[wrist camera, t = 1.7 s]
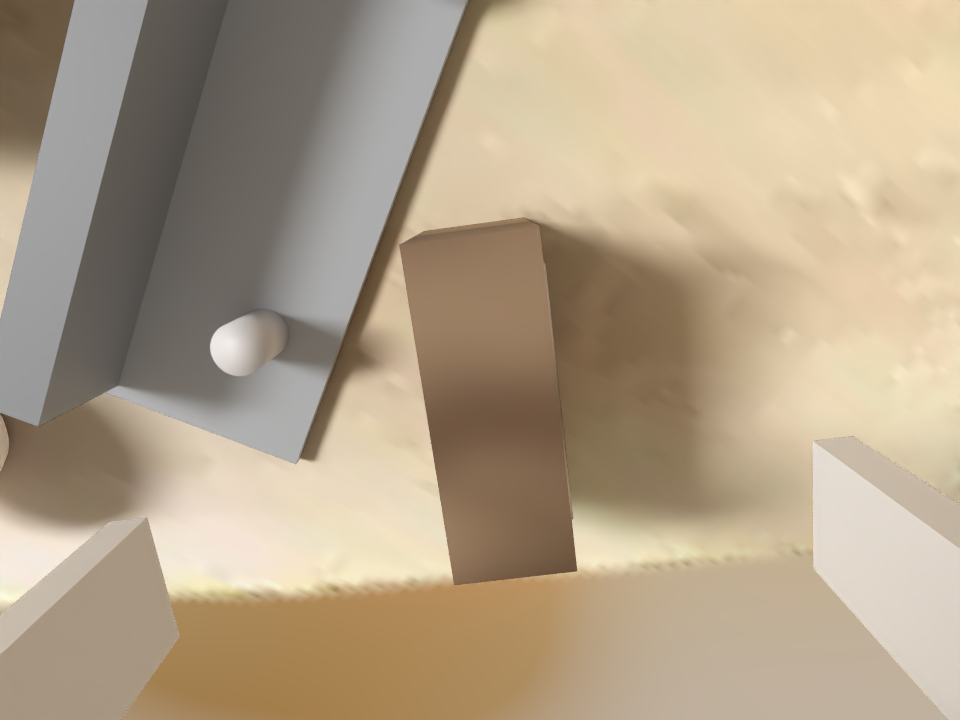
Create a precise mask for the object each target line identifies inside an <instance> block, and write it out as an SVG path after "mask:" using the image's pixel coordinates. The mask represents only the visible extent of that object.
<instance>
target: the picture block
mask: <svg viewBox="0 0 960 720" xmlns="http://www.w3.org/2000/svg"><path fill="white" fill-rule="evenodd" d="M400 252H401V258H402V264H403V270H404V276H405V283H406V289H407V295H408V301H409V307H410V314H411V320H412V326H413V332H414V338H415V345H416V351H417V357H418V363H419V369H420V376H421V382H422V388H423V394H424V400H425V407H426V413H427V419H428V425H429V431H430V438H431V444H432V450H433V456H434V462H435V469H436V475H437V481H438V487H439V493H440V500H441V506H442V512H443V518H444V524H445V531H446V537H447V543H448V549H449V555H450V562H451V568H452V574H453V580H454V585H460V584H469V583H478V582H487V581H496V580H504V579H513V578H522V577H531V576H539V575H548V574H557V573H566V572H575V571H577V565H576V556H575V547H574V538H573V528H572V519H573V512H572V503H571V494H570V485H569V475H568V466H567V457H566V448H565V438H564V429H563V420H562V411H561V401H560V392H559V383H558V374H557V364H556V355H555V346H554V337H553V327H552V318H551V309H550V299H549V290H548V281H547V272H546V263H545V262H544V261H543V253H542V243H541V234H540V226H539V225H537V224H535V223H533V222H531V221H529V220H527V219H525V218H517V219H510V220H502V221H495V222H488V223H480V224H473V225H466V226H458V227H451V228H443V229H436V230H429V231H424V232H422V233H420V234H418V235H417V236H415V237H413V238H411V239H409V240H407V241H406V242H404V243H402V244H400Z"/></svg>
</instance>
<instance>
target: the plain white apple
mask: <svg viewBox="0 0 960 720" xmlns="http://www.w3.org/2000/svg"><path fill="white" fill-rule="evenodd" d="M8 451H9V437H8V433H7V429H6V426H5V423H4V420H3V418H2V416H1V414H0V471H1V469H2V467H3V465H4V462H5V460H6V457H7V454H8Z"/></svg>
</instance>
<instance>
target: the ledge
mask: <svg viewBox="0 0 960 720" xmlns="http://www.w3.org/2000/svg"><path fill="white" fill-rule="evenodd" d="M468 1H469V0H75V1H74V5H73V9H72V14H71V18H70V22H69V27H68V31H67V35H66V39H65V44H64V48H63V52H62V57H61V61H60V65H59V69H58V74H57V78H56V82H55V87H54V91H53V95H52V100H51V104H50V108H49V112H48V117H47V121H46V125H45V130H44V134H43V138H42V142H41V147H40V151H39V155H38V160H37V164H36V168H35V173H34V177H33V181H32V185H31V190H30V194H29V198H28V203H27V207H26V211H25V215H24V220H23V224H22V228H21V233H20V237H19V241H18V245H17V250H16V254H15V258H14V263H13V267H12V271H11V276H10V280H9V284H8V288H7V293H6V297H5V301H4V306H3V310H2V314H1V318H0V413H2V414H5V415H8V416H10V417H13V418H16V419H18V420H21V421H24V422H27V423H29V424H32V425H35V426H37V427H38V426H40V425H42V424H44V423H46V422H48V421H50V420H52V419H54V418H56V417H58V416H60V415H62V414H64V413H66V412H68V411H70V410H72V409H74V408H75V407H77V406H79V405H81V404H83V403H85V402H87V401H89V400H91V399H93V398H95V397H97V396H99V395H101V394H103V393H108V394H111V395H113V396H116V397H119V398H121V399H124V400H127V401H129V402H132V403H135V404H137V405H140V406H142V407H145V408H148V409H150V410H153V411H156V412H158V413H161V414H164V415H166V416H169V417H172V418H174V419H177V420H180V421H182V422H185V423H188V424H190V425H193V426H196V427H198V428H201V429H204V430H206V431H209V432H211V433H214V434H217V435H219V436H222V437H225V438H227V439H230V440H233V441H235V442H238V443H241V444H243V445H246V446H249V447H251V448H254V449H257V450H259V451H262V452H265V453H267V454H270V455H273V456H275V457H278V458H280V459H283V460H286V461H288V462H291V463H294V464H296V463H297V462H298V461H299V459H300V457H301V454H302V451H303V449H304V446H305V443H306V441H307V438H308V435H309V432H310V430H311V427H312V424H313V422H314V419H315V416H316V413H317V411H318V408H319V405H320V403H321V400H322V397H323V394H324V392H325V389H326V386H327V384H328V381H329V378H330V375H331V373H332V370H333V367H334V365H335V362H336V359H337V357H338V354H339V351H340V348H341V346H342V343H343V340H344V338H345V335H346V332H347V329H348V327H349V324H350V321H351V319H352V316H353V313H354V310H355V308H356V305H357V302H358V300H359V297H360V294H361V291H362V289H363V286H364V283H365V281H366V278H367V275H368V272H369V270H370V267H371V264H372V262H373V259H374V256H375V253H376V251H377V248H378V245H379V243H380V240H381V237H382V235H383V232H384V229H385V226H386V224H387V221H388V218H389V216H390V213H391V210H392V207H393V205H394V202H395V199H396V197H397V194H398V191H399V188H400V186H401V183H402V180H403V178H404V175H405V172H406V169H407V167H408V164H409V161H410V159H411V156H412V153H413V150H414V148H415V145H416V142H417V140H418V137H419V134H420V131H421V129H422V126H423V123H424V121H425V118H426V115H427V113H428V110H429V107H430V104H431V102H432V99H433V96H434V94H435V91H436V88H437V85H438V83H439V80H440V77H441V75H442V72H443V69H444V66H445V64H446V61H447V58H448V56H449V53H450V50H451V47H452V45H453V42H454V39H455V37H456V34H457V31H458V28H459V26H460V23H461V20H462V18H463V15H464V12H465V9H466V7H467V4H468Z"/></svg>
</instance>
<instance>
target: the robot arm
mask: <svg viewBox="0 0 960 720" xmlns="http://www.w3.org/2000/svg"><path fill="white" fill-rule="evenodd" d="M813 569H814V570H815V571H816V572H817V573H818V574H819V575H820V576H821V578H822V579H823V580H824V581H825V582H826V583H827V584H828V585H829V587H830V588H831V589H832V590H833V591H834V592H835V593H836V594H837V595H838V597H839V598H840V599H841V600H842V601H843V602H844V603H845V605H846V606H847V607H848V608H849V609H850V610H851V611H852V612H853V614H854V615H855V616H856V617H857V618H858V619H859V620H860V621H861V623H862V624H863V625H864V626H865V627H866V628H867V629H868V630H869V631H870V633H871V634H872V635H873V636H874V637H875V638H876V639H877V640H878V642H879V643H880V644H881V645H882V646H883V647H884V648H885V649H886V650H887V652H888V653H889V654H890V655H891V656H892V657H893V658H894V660H895V661H896V662H897V663H898V664H899V665H900V666H901V667H902V669H903V670H904V671H905V672H906V673H907V674H908V675H909V676H910V677H911V679H912V680H913V681H914V682H915V683H916V684H917V685H918V686H919V687H920V689H921V690H922V691H923V692H924V693H925V694H926V695H927V697H928V698H929V699H930V700H931V701H932V702H933V703H934V704H935V706H936V707H937V708H938V709H939V710H940V711H941V712H942V713H943V715H944V716H945V717H946V718H947V719H948V720H960V504H958V503H957V502H955V501H954V500H952V499H950V498H949V497H947V496H946V495H944V494H943V493H941V492H939V491H938V490H936V489H935V488H933V487H932V486H930V485H929V484H927V483H925V482H924V481H922V480H921V479H919V478H918V477H916V476H914V475H913V474H911V473H910V472H908V471H907V470H905V469H904V468H902V467H900V466H899V465H897V464H896V463H894V462H893V461H891V460H890V459H888V458H886V457H885V456H883V455H882V454H880V453H879V452H877V451H875V450H874V449H872V448H871V447H869V446H868V445H866V444H865V443H863V442H861V441H860V440H858V439H857V438H855V437H854V436H851V437H842V438H834V439H825V440H816V441H813ZM178 638H179V632H178V628H177V625H176V621H175V618H174V614H173V610H172V606H171V603H170V599H169V595H168V592H167V588H166V584H165V581H164V577H163V574H162V570H161V566H160V563H159V559H158V555H157V552H156V548H155V544H154V541H153V537H152V533H151V530H150V526H149V522H148V519H147V517H145V518H136V519H127V520H119V521H110V522H109V523H108V524H106V525H105V526H104V527H103V528H102V529H100V530H99V531H98V532H97V533H96V534H95V535H93V536H92V537H91V538H90V539H89V540H88V541H86V542H85V543H84V544H83V545H82V546H81V547H79V548H78V549H77V550H76V551H75V552H74V553H72V554H71V555H70V556H69V557H68V558H67V559H65V560H64V561H63V562H62V563H61V564H59V565H58V566H57V567H56V568H55V569H54V570H52V571H51V572H50V573H49V574H48V575H47V576H45V577H44V578H43V579H42V580H41V581H40V582H38V583H37V584H36V585H35V586H34V587H33V588H31V589H30V590H29V591H28V592H27V593H26V594H24V595H23V596H22V597H21V598H20V599H18V600H17V601H16V602H15V603H14V604H13V605H11V606H10V607H9V608H8V609H7V610H6V611H4V612H3V613H2V614H1V615H0V720H121V719H122V718H123V717H124V715H125V714H126V712H127V711H128V709H129V708H130V707H131V705H132V704H133V702H134V701H135V699H136V698H137V697H138V695H139V693H140V692H141V691H142V689H143V688H144V686H145V685H146V684H147V682H148V681H149V679H150V678H151V677H152V675H153V674H154V672H155V671H156V670H157V668H158V666H159V665H160V664H161V662H162V661H163V660H164V658H165V657H166V655H167V654H168V652H169V651H170V649H171V648H172V647H173V645H174V644H175V642H176V641H177V640H178Z"/></svg>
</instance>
